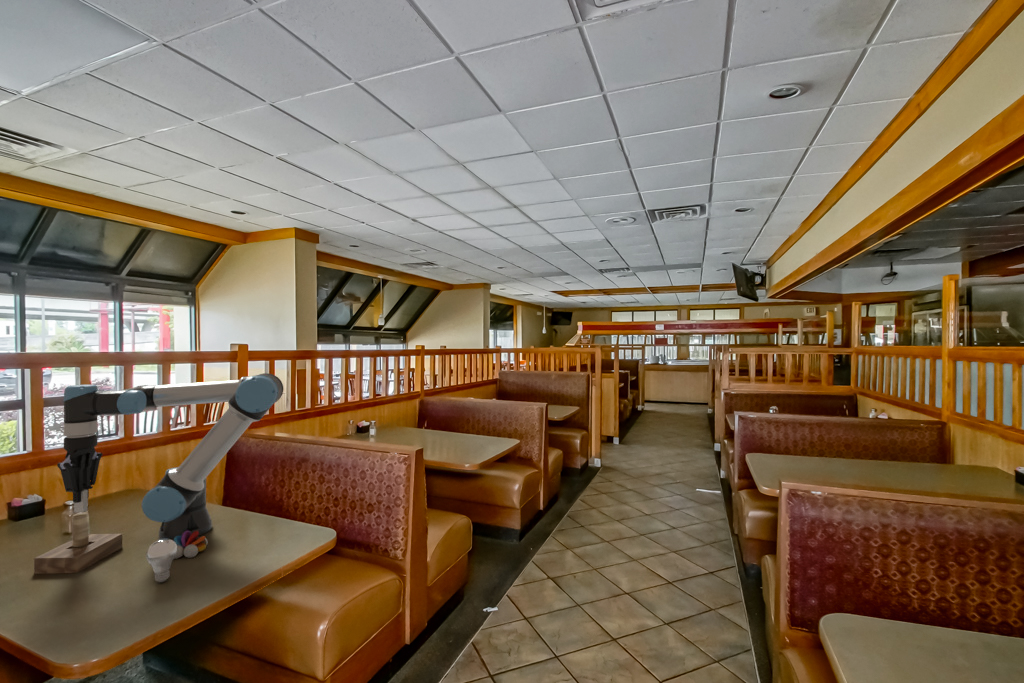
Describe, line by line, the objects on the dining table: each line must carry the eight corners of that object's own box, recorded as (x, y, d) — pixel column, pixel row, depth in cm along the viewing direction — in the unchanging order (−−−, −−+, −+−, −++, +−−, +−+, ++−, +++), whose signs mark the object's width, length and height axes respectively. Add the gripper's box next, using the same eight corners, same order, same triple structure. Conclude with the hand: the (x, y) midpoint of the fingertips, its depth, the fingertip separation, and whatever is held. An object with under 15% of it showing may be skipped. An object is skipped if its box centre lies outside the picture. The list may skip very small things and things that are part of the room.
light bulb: (152, 591, 122) (152, 547, 122) (141, 584, 125) (141, 541, 125) (182, 579, 128) (182, 537, 127) (171, 573, 131) (171, 532, 131)
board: (122, 547, 147) (122, 533, 147) (77, 572, 131) (77, 557, 131) (83, 548, 146) (83, 534, 146) (34, 573, 130) (34, 558, 130)
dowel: (92, 556, 141) (92, 512, 141) (81, 562, 137) (81, 516, 137) (79, 557, 140) (79, 512, 140) (68, 562, 137) (68, 517, 137)
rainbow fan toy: (198, 559, 140) (198, 536, 140) (163, 561, 138) (163, 537, 138) (212, 546, 148) (212, 524, 148) (179, 548, 147) (179, 526, 147)
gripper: (87, 430, 145) (87, 504, 145) (47, 440, 132) (47, 520, 132) (111, 430, 145) (111, 503, 145) (74, 439, 132) (74, 519, 132)
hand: (80, 511), depth 139 cm, fingers closed
